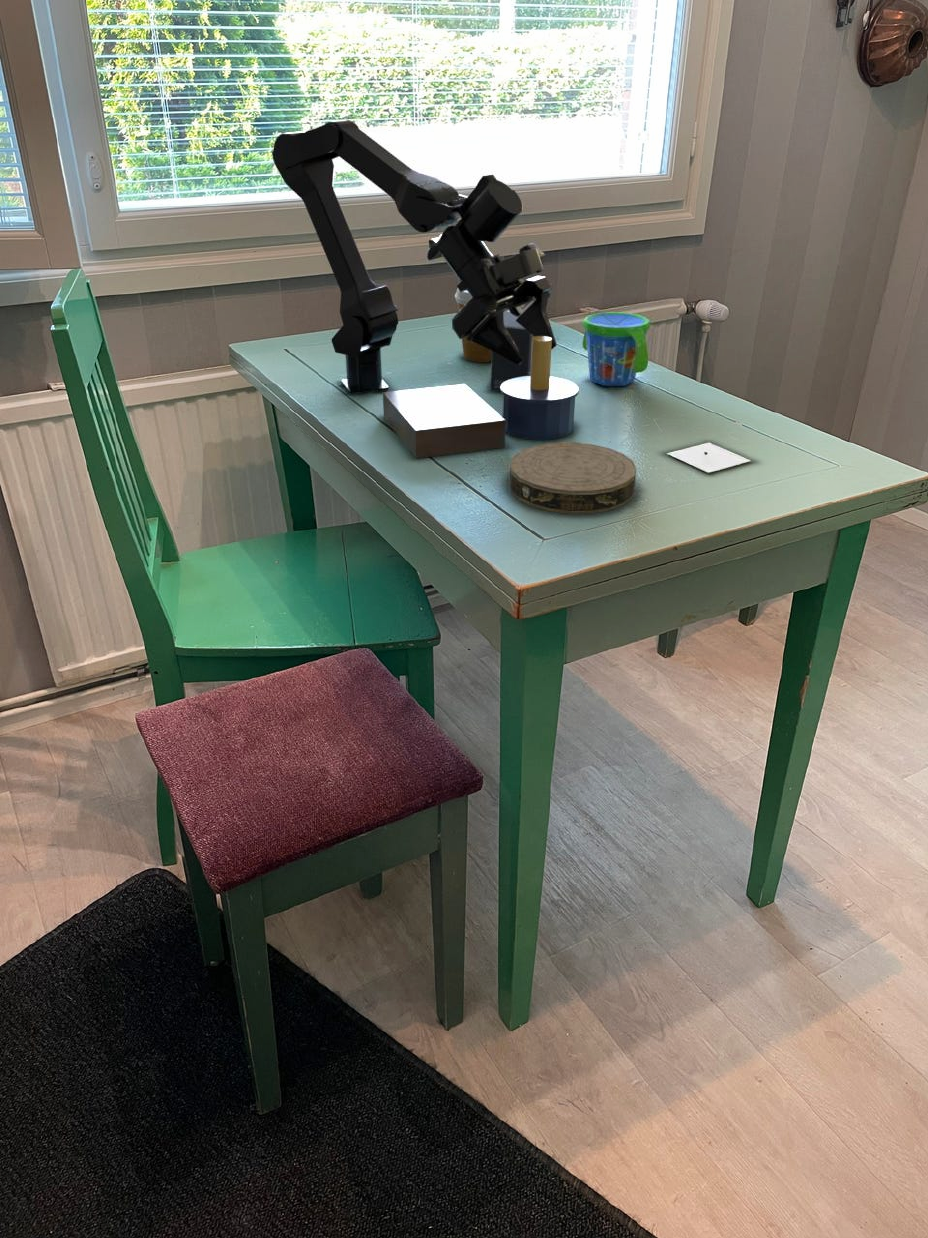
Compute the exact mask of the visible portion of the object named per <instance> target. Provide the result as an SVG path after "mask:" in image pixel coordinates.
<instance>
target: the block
mask: <svg viewBox="0 0 928 1238" xmlns="http://www.w3.org/2000/svg"><path fill="white" fill-rule="evenodd" d="M382 404H383V405H382V409H383V419H384V420H385V421H386V423H387V425H389V427H390V428H391V429H392V431H394V433H395V434H396V435H397V436H398V438H399V439H400V441H401V442H402V443H403V444H404V445H405V447H406V448H407V449H408V450H409V452H410V453H411V454H412V456H414V458H415V459H422V458H423V459H424V458H431V457H432V458H433V457H440V456H447V455H455V454H462V453H463V454H464V453H471V452H480V451H488V450H495V449H502V448H503V449H504V448H506V431H505V428H506V420H505V419H504V418H503V415H500V413H498V412H497V411H496V410H495V409H494V408H493V407H491V405H490V404H489V403H488V402H486V401H485V400H484V399H482V398H481V397H480V395H479V394H477V393H476V392H475V391H474V390H472V389H471V388H470V387H469V386H468V385H467V384H466V383H460V384H451V385H442V386H441V385H440V386H432V387H422V388H412V389H402V390H401V389H400V390H393V391H384V392H382Z"/></svg>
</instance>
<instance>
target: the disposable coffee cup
mask: <svg viewBox="0 0 928 1238" xmlns="http://www.w3.org/2000/svg"><path fill="white" fill-rule="evenodd" d="M454 298H455V301H456V303H457V311H458V312H459V311H460V310H461V309H462V308H463V307H464V305H465V304H466V303H467V302H468V301H469V300H470V299H471V298H472V297H471V296H470V294H469V293H468V291H467V290H466V291H463V292H460V291H459V289H458V288H457V289H456V293H455V294H454ZM506 304H507V302H506ZM468 337H469V336H467V337H465V338H462V339H461V345H462V354H463V358H464V359H465V360H467V361H470V362H476V363H488V362H492V351H491V350H490V349H488V348H485V347H483V346H481V345H479V344H477V343H475V342H473V341H470V342H469V341H468V340H467V338H468Z"/></svg>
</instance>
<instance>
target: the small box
mask: <svg viewBox="0 0 928 1238" xmlns="http://www.w3.org/2000/svg"><path fill="white" fill-rule="evenodd" d="M503 315H504V326H505V328H506V330H507V331H508V333H509V335H510V336H511V338H512V340H513V341H514V343H515V345H516V346H517V348H518V350H519V351H520V353H521V355H522V357H523V362H521V363H520V364H519V365H517V364H515V363H513V362H511V361H510V360H508V359H506V358H504V357H502V356H501V355H499V354H497V353H495V352H493V351H492V361H491V364H490V365H491V368H490V385H489V390H490V391H492V392H493V391H494V392H501V391H500V387H501V384H502V383H503V382H505V381H507V380H509V379H513V378H517V377H523V376H530V372H531V349H532V338H533V337H534V336H533V335H532V334H531V333H529V332H528V331H527V330H526V329H525V328H523V327H522V326H521V325H520V324H519V323H518V322H516V319H517V318H518V317H516V316H514V315H513V314H511V313H510V312H508V311H505V312H503Z"/></svg>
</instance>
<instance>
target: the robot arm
mask: <svg viewBox="0 0 928 1238" xmlns="http://www.w3.org/2000/svg"><path fill="white" fill-rule="evenodd" d="M271 156H272V160H273V164H274V166H275V168H276V170H277V171H278V173H279V175H280V176H281V178H282V180H283V181H284V183H285V185H286V186H287V187H288V188H289V189H290V190H291V191H293V192H294V193H295V194H296V195H297V196H298V197H299V198H300V199H301V200H302V202H303V204H304V206H305V209H306V211H307V214H308V216H309V218H310V220H311V223H312V225H313V228H314V230H315V233H316V236H317V238H318V240H319V243H320V244H321V247H322V249H323V252H324V254H325V257H326V259H327V261H328V263H329V266H330V268H331V272H332V274H333V275H334V279H335V280H336V283H337V286H338V287H339V288H338V289H339V290H340V303H339V314H340V318H341V321H342V326H341V327H340V328H339V329H338V331H337V332H336V333H335V334H334V335H333V336H332V338H331V344H332V346H333V350H334V352H335V353H336V354H340V355H344V356H345V369H346V370H345V372H346V378H343V379H341V384H342V385H343V386H344V388H345V389H346V390H347V393H349V394H361V393H371V392H378V391H379V392H382V391H388V390H389V385H388V384H387V383H386V382H385V381H384V379H383V372H382V371H383V370H382V348H384V347H389V346H391V344H392V339H393V336H394V335H395V332H396V331H397V328H398V325H399V317H398V313H397V312H398V311H399V308H398V306H397V305H396V304H395V302H394V300H393V297H392V292H391V290H390V289H389V287H388V286H387V285H383V286H378V285H377V284H376V283H375V282H374V281H372V279H371V278H370V276H369V273H368V271H367V267H366V265H365V263H364V261H363V258H362V256H361V254H360V251H359V247H358V246H357V243H356V241H355V238H354V236H353V233H352V231H351V229H350V226H349V224H348V222H347V219H346V217H345V214H344V211H343V209H342V207H341V205H340V202H339V199H338V197H337V194H336V192H335V190H334V176H335V165H334V161H333V160H335V159H337V158H341V159H342V160H343V161H344V162H345V163H347V164H348V165H349V166H351V167H352V168H353V169H355V170H356V171H357V172H359V173H360V174H361V175H362V176H364V177H365V178H366V179H368V180H369V181H370V182H372V183H373V184H374V185H375V186H376V187H378V188H379V189H380V190H381V191H383V192H384V193H386V195H388V196H389V197H390V198H391V199H392V200H393V201H394V203H395V204H394V205H395V206H396V209H397V211H398V213H399V215H401V216H402V218H403V219H404V220H405V221H406V222H407V223H408V225H410V227H412V229H414V230H415V231H417V232H419V233H422V234H423V233H429V232H433V231H437V230H438V231H439V230H443V229H444V231H443V232H442V233H441V234H440V235H439V237H434V238H430V239H429V240H428V249H427V256H426V258H427V261H433V260H437V259H441V258H443V259H444V261H445V262H446V263H447V265H448V266H449V267H450V269H451V270H452V272H453V273H454V275H455V276H456V277H457V279H458V280H459V283H458V284H457V285H456V287H457V288H458V289H459V291H460V292H463V291H466V290H467V291H468V293H469V294H470V296H471V297H472V298H471V299H470V300H469V301H468V302H467V303H466V304H465V305H464V307H463V308H462V309H461V310H460V311H458V312H457V313H456V314H455V315H454V316H453V317H452V318H451V330H453V332H454V333H455V334H456V336H457V338H458V339H459V340H462V338H465V337H467V336H469V337H468V338H467V340H468V341H469V342H470V341H473V342H475V343H477V344H479V345H481V346H483V347H485V348H488V349H490V350H491V351H493V352H495V353H497V354H499V355H501V356H502V357H504V358H506V359H508V360H510V361H511V362H513V363H515V364H517V365H519V364H520V363H521V362H523V357H522V355H521V353H520V351H519V350H518V348H517V346H516V345H515V343H514V341H513V340H512V338H511V336H510V335H509V333H508V331H507V330H506V328H505V326H504V315H503V312H505V311H508V310H509V311H510V313H511V314H513V315H514V316H516V317H518V318H517V319H516V322H518V323H519V324H520V325H521V326H522V327H523V328H525V329H526V330H527V331H528V332H529V333H531V334H532V335H533V336H534V337H535V336H547V337H550V338H552V347H551V351H552V350H554V349H555V348H556V346H557V342H556V338H555V335H554V332H553V328H552V326H551V325H552V324H551V322H550V318H549V315H548V310H547V305H548V301H549V298H551V291H552V290H553V289H554V288H553V286H552V284H551V283H550V281H549V280H548V278H547V277H546V276H541V275H536V276H533V277H531V278H527V279H525V278H526V277H529V276H532V275H534V274H535V273H537V274H540V273H541V272H544V270H545V269H544V266H543V264H544V261H545V258H546V254H545V252H542V250H541V248H540V246H539V247H538V245H537V244H536V243H535V242H531V243H528V244H526V245H524V246H520V247H519V249H518V253H516V254H514V255H512V256H509V257H507V258H505V257H504V256H503V255H502V254H494V255H493V253H492V252H491V251H490V249H489V248H488V247H487V246H486V244H485V242H488V243H494V242H496V241H497V240H498V239H499V238H500V237H501V236H502V234H504V232H506V230H507V229H508V228H509V227H510V226H511V224H513V222H514V221H515V220H516V219H517V218H518V217H519V215H520V214H521V213H522V212H523V202H522V200H521V198H520V196H519V194H518V193H517V191H516V190H514V189H512V188H511V187H510V186H509V185H507V184H506V183H504V182H503V181H500V180H499V179H497V178H496V177H495V175H494V174H493V173H489V174H483V175H482V176H481V178H480V179H479V180H478V182H477V184H476V186H475V187H474V188H473V190H472V191H471V192H470V193H469V195H468V196H467V195H463V194H459V192H458V191H457V189H456V188H455V187H453V186H452V185H451V184H449V183H446V182H445V181H442V180H441V179H438V178H437V177H433V176H431V175H427V174H424V173H421V172H417V171H416V170H414V169H412V168H410V166H408V165H407V164H406V163H405V162H403V161H402V160H401V159H399V158H398V157H397V156H395V155H394V154H393V153H391V151H389V150H387V149H386V148H384V147H383V145H381V144H380V143H378V142H377V141H376V140H375V139H373V138H372V137H370V136H369V135H368V134H366V132H364V131H362V130H361V129H360V128H359V125H357V123H356V122H353V120H350V119H342V120H341V119H340V120H330V121H328V122H326V123H325V124H322V125H320V126H318V127H316V128H315V127H314V128H311V129H309V130H306V131H305V130H303V131H294V132H293V131H292V132H283V133H281V134H279V135H278V136H277V137H276V138H275V141H274V143H273V149H272V151H271ZM458 220H459V221H458ZM523 279H525V280H523ZM506 302H507V303H506Z"/></svg>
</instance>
